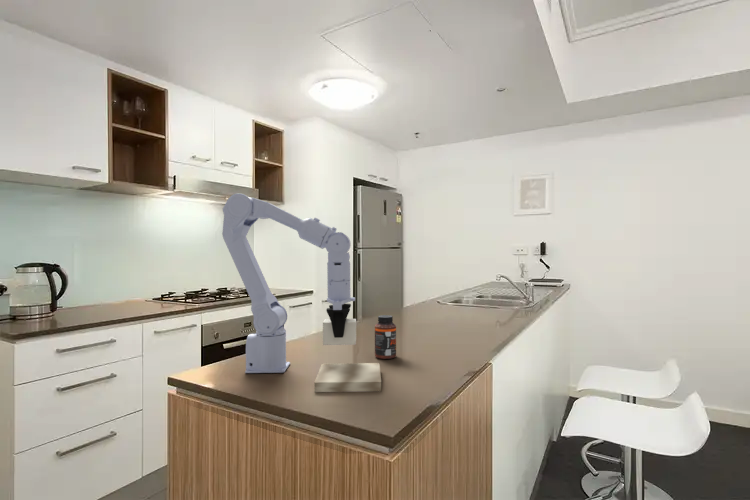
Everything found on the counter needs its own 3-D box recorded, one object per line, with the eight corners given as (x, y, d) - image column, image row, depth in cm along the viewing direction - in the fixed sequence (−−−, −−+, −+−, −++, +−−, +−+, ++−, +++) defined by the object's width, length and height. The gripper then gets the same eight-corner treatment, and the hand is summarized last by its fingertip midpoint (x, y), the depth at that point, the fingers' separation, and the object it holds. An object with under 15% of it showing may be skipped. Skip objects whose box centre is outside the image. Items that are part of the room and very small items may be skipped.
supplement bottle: (394, 360, 110) (394, 318, 110) (372, 359, 111) (372, 317, 111) (397, 354, 116) (397, 314, 115) (377, 353, 117) (376, 314, 117)
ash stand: (314, 392, 86) (314, 382, 86) (322, 371, 100) (322, 363, 100) (381, 391, 86) (381, 381, 86) (379, 371, 100) (379, 363, 100)
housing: (322, 345, 100) (322, 320, 100) (324, 340, 105) (324, 317, 105) (355, 344, 100) (355, 320, 100) (356, 340, 105) (356, 316, 105)
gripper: (354, 282, 95) (354, 341, 95) (355, 278, 110) (355, 328, 110) (323, 283, 95) (324, 341, 95) (329, 278, 110) (329, 329, 110)
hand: (339, 334), depth 103 cm, fingers closed on housing, 5 cm apart
